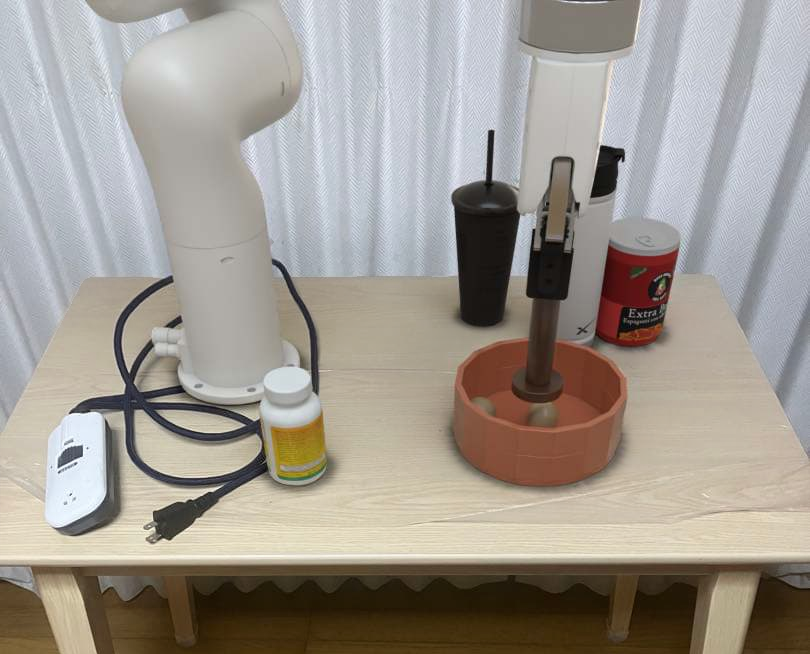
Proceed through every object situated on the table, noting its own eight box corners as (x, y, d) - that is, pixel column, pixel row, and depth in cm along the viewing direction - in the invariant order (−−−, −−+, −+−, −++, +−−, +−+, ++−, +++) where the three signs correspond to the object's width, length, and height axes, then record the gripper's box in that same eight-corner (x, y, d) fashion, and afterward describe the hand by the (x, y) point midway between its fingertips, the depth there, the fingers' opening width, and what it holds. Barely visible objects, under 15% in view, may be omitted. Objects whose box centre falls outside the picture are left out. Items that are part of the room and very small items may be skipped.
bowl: (445, 478, 77) (446, 423, 73) (463, 385, 88) (465, 332, 84) (618, 493, 75) (629, 437, 71) (615, 396, 86) (624, 342, 82)
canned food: (621, 355, 91) (639, 256, 84) (575, 322, 97) (588, 226, 89) (677, 336, 94) (698, 238, 87) (629, 305, 99) (645, 211, 92)
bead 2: (523, 420, 82) (543, 442, 81) (516, 411, 79) (535, 434, 78) (548, 399, 82) (568, 421, 81) (541, 389, 79) (561, 412, 78)
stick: (508, 401, 73) (523, 228, 62) (513, 373, 76) (527, 204, 66) (561, 406, 72) (585, 232, 62) (563, 377, 75) (586, 207, 65)
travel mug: (595, 358, 91) (625, 163, 77) (533, 352, 92) (551, 159, 78) (597, 328, 96) (626, 139, 82) (538, 323, 97) (556, 136, 83)
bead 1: (462, 424, 83) (462, 394, 81) (493, 422, 83) (493, 392, 81) (466, 434, 80) (465, 402, 79) (498, 432, 80) (498, 400, 79)
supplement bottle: (256, 469, 78) (241, 378, 72) (302, 443, 81) (291, 354, 75) (294, 496, 76) (281, 404, 69) (340, 468, 78) (332, 378, 72)
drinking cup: (508, 336, 95) (522, 147, 81) (441, 328, 96) (443, 140, 83) (521, 304, 100) (536, 121, 86) (457, 296, 102) (462, 115, 88)
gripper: (526, -9, 61) (506, 241, 74) (510, 54, 50) (490, 337, 62) (633, -6, 60) (595, 246, 73) (643, 59, 49) (595, 345, 62)
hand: (547, 286), depth 68 cm, fingers closed on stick, 2 cm apart
